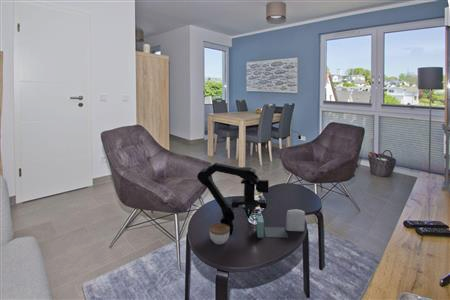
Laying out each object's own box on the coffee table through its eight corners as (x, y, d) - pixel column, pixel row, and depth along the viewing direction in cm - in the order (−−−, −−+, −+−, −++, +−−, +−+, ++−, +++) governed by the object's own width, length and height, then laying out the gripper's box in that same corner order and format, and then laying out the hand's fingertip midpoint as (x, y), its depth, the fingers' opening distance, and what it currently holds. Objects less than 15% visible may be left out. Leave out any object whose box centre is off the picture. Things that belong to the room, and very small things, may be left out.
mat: (266, 237, 162) (266, 236, 162) (263, 227, 172) (263, 227, 172) (288, 237, 161) (288, 237, 161) (284, 228, 172) (284, 227, 172)
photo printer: (286, 231, 168) (287, 211, 166) (285, 227, 173) (286, 207, 170) (304, 232, 168) (306, 211, 165) (303, 228, 172) (304, 208, 169)
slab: (257, 237, 162) (258, 222, 160) (256, 230, 169) (256, 215, 167) (263, 237, 162) (263, 222, 160) (261, 230, 169) (262, 215, 167)
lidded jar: (233, 239, 159) (233, 223, 157) (222, 249, 150) (223, 232, 148) (216, 234, 165) (216, 218, 162) (205, 243, 156) (205, 226, 153)
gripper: (232, 196, 152) (231, 224, 156) (268, 197, 152) (267, 225, 156) (231, 188, 163) (231, 215, 167) (266, 189, 163) (264, 216, 167)
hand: (248, 218), depth 164 cm, fingers closed
